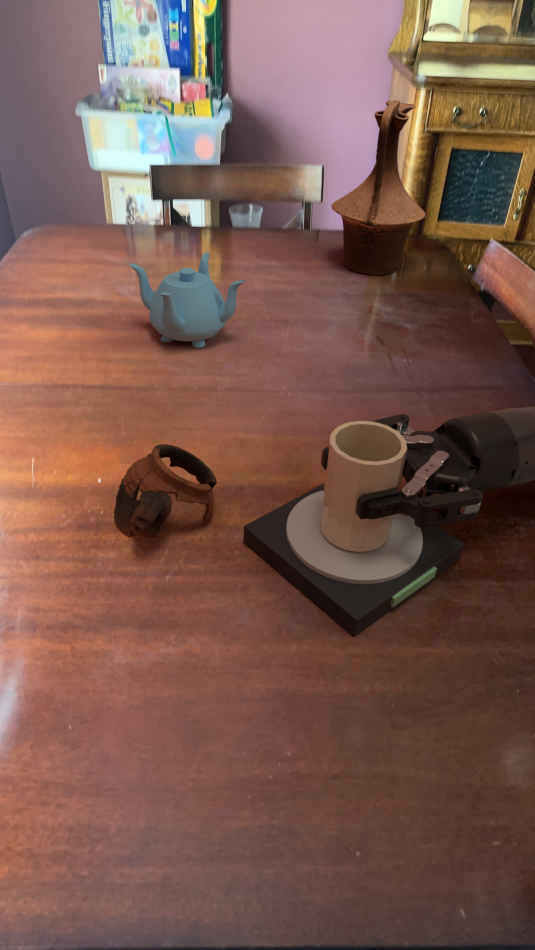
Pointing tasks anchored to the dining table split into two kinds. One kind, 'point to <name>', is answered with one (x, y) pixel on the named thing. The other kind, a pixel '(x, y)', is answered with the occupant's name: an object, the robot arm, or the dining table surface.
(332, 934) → the dining table surface
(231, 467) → the dining table surface
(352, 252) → the pitcher
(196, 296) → the teapot
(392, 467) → the cup
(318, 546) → the scale
